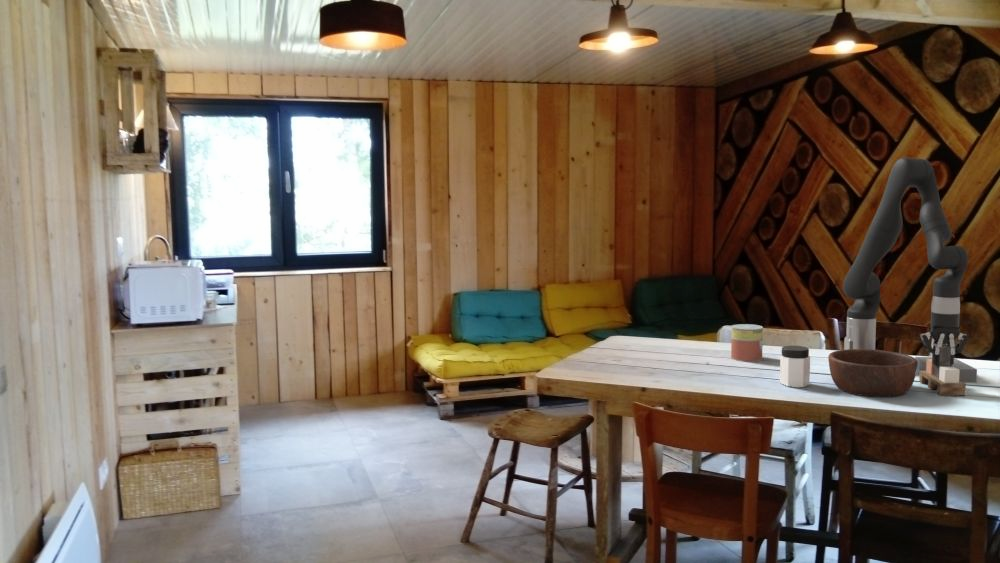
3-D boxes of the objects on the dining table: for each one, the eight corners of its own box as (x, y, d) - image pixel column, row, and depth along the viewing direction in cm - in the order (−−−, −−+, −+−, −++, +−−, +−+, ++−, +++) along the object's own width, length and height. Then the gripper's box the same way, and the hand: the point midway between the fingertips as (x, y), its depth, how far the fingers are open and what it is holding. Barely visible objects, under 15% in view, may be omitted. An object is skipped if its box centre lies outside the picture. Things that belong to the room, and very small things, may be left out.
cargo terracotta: (931, 374, 237) (931, 362, 236) (926, 371, 241) (926, 359, 240) (944, 374, 236) (945, 362, 236) (939, 371, 240) (940, 359, 239)
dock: (935, 381, 243) (936, 368, 243) (914, 368, 261) (915, 356, 260) (976, 381, 241) (976, 369, 241) (952, 368, 259) (952, 357, 258)
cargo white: (944, 382, 227) (945, 369, 226) (939, 379, 231) (939, 366, 230) (958, 383, 226) (959, 370, 226) (953, 379, 230) (953, 366, 230)
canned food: (762, 362, 275) (763, 329, 274) (730, 360, 279) (730, 328, 277) (762, 355, 286) (762, 324, 284) (731, 354, 289) (731, 323, 288)
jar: (788, 379, 250) (789, 344, 248) (813, 383, 244) (813, 347, 242) (775, 384, 244) (776, 348, 242) (800, 389, 238) (801, 352, 236)
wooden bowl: (936, 395, 228) (937, 361, 226) (868, 403, 221) (869, 369, 219) (873, 376, 252) (874, 346, 250) (810, 383, 245) (811, 352, 243)
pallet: (939, 395, 227) (942, 350, 225) (919, 381, 242) (921, 340, 241) (965, 395, 225) (967, 351, 224) (942, 382, 241) (945, 340, 239)
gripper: (925, 312, 228) (922, 368, 230) (975, 313, 226) (972, 369, 228) (916, 308, 236) (913, 363, 238) (964, 309, 233) (961, 363, 235)
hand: (942, 365), depth 233 cm, fingers closed on pallet, 3 cm apart
